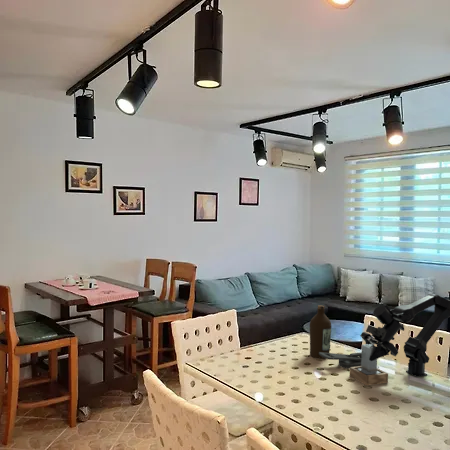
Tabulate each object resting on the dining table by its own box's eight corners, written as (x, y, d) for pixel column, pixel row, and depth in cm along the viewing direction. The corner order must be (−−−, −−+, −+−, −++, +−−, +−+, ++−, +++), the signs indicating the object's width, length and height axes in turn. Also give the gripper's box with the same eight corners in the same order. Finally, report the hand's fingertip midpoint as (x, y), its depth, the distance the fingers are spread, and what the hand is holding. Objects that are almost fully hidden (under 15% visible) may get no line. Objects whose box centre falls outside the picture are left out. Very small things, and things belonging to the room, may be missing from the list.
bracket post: (370, 369, 185) (371, 342, 185) (381, 375, 178) (381, 347, 178) (356, 371, 183) (357, 344, 182) (367, 377, 176) (367, 348, 176)
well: (369, 373, 188) (370, 364, 188) (387, 382, 177) (388, 373, 177) (349, 376, 184) (349, 367, 184) (366, 385, 173) (367, 376, 173)
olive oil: (304, 355, 210) (305, 305, 210) (316, 351, 217) (317, 302, 217) (322, 361, 202) (324, 309, 202) (334, 356, 210) (336, 306, 209)
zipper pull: (316, 351, 196) (360, 347, 205) (316, 365, 196) (360, 360, 205) (328, 357, 187) (373, 352, 196) (327, 372, 187) (372, 366, 197)
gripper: (364, 313, 190) (342, 340, 187) (393, 324, 173) (369, 353, 169) (378, 330, 193) (357, 356, 190) (408, 341, 175) (385, 370, 172)
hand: (366, 358), depth 180 cm, fingers closed on bracket post, 4 cm apart
